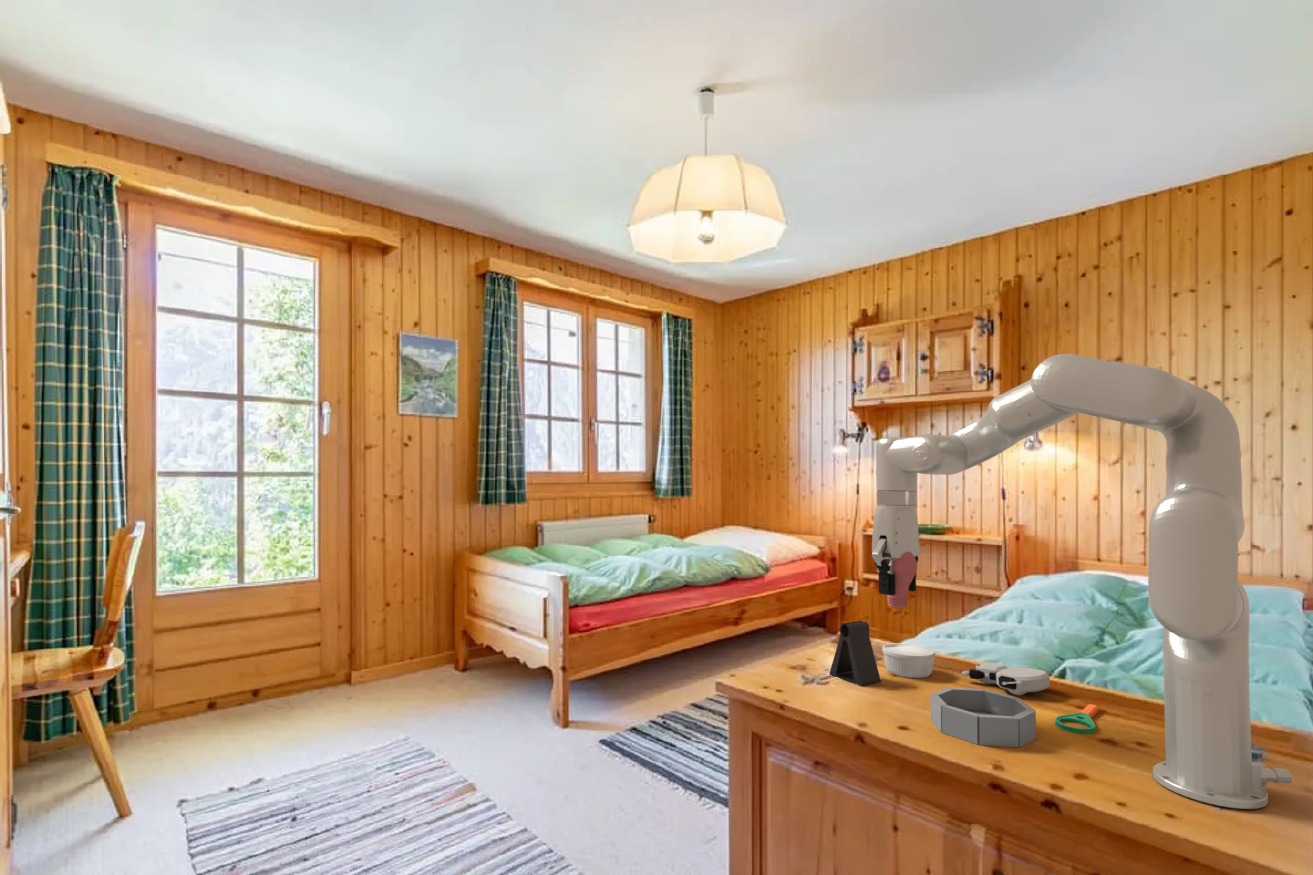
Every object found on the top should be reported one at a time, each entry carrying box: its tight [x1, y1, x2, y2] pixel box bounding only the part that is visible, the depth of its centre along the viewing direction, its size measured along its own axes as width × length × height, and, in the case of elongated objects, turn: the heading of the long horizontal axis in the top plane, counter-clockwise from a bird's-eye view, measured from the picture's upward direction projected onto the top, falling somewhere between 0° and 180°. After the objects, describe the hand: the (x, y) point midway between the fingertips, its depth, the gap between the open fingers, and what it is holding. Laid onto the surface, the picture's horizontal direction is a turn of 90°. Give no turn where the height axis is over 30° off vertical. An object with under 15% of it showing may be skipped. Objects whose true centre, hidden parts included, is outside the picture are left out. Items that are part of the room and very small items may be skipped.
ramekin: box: [881, 642, 936, 679], centre depth 150 cm, size 11×11×5 cm
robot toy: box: [961, 662, 1059, 696], centre depth 140 cm, size 12×4×15 cm
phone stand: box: [829, 620, 881, 687], centre depth 144 cm, size 9×6×12 cm, turn 31°
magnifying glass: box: [1054, 703, 1100, 735], centre depth 121 cm, size 15×6×2 cm, turn 133°
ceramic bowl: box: [930, 686, 1037, 748], centre depth 116 cm, size 15×15×4 cm
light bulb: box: [885, 552, 918, 610], centre depth 130 cm, size 7×7×12 cm
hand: (897, 591), depth 129 cm, fingers closed on light bulb, 6 cm apart
